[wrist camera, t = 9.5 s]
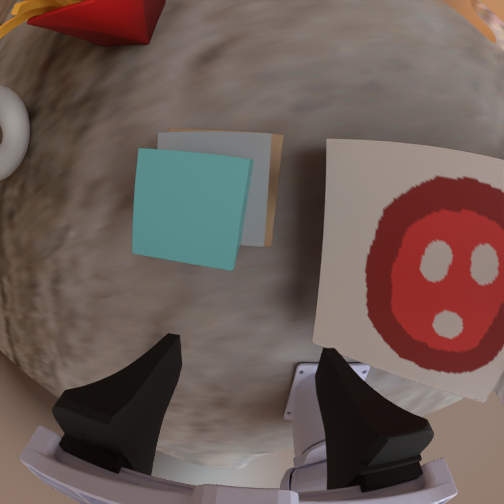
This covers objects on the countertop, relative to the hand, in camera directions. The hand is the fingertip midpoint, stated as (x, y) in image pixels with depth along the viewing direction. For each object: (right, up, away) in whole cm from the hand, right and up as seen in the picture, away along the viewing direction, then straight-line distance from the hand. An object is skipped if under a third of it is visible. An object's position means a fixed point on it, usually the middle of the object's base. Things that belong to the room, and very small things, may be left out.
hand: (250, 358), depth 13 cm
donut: (-23, +18, +6) cm, 30 cm away
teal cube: (-3, +9, +3) cm, 10 cm away
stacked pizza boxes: (+20, +6, +8) cm, 22 cm away
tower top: (-2, +10, +6) cm, 12 cm away
